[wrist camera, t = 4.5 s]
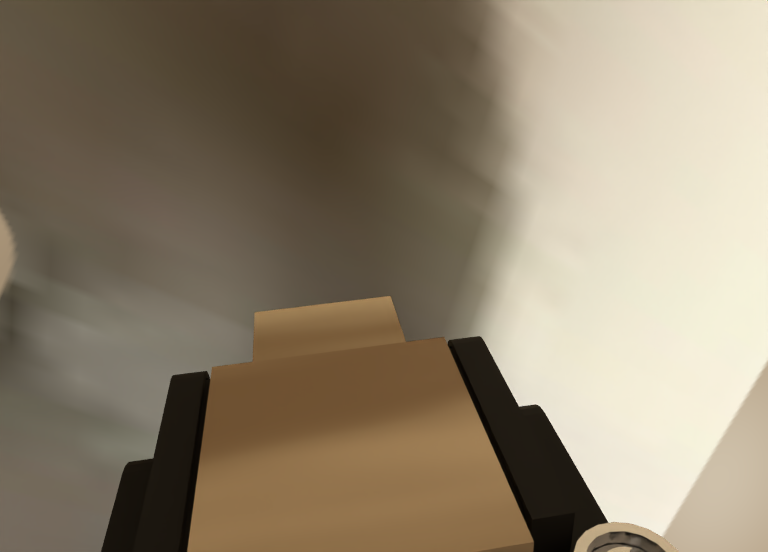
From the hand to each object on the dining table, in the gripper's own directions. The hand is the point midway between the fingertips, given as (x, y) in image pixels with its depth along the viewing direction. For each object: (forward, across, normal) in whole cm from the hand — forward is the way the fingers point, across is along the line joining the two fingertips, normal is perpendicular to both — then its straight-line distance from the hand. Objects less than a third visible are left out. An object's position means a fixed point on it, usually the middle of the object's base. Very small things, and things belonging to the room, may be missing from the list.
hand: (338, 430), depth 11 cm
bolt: (+1, 0, +5) cm, 5 cm away
